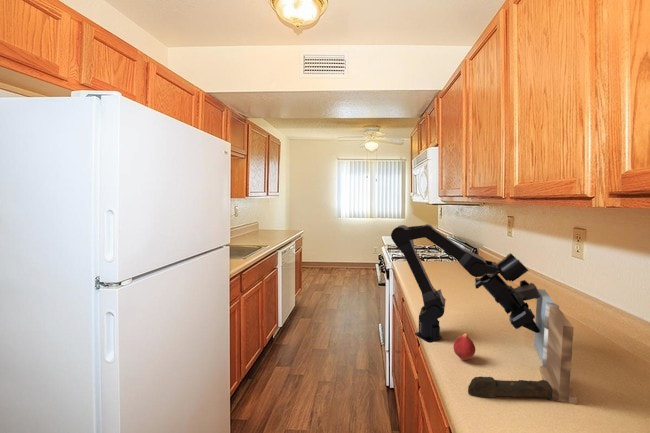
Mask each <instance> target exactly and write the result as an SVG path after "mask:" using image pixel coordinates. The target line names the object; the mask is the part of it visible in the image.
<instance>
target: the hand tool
mask: <svg viewBox="0 0 650 433" xmlns="http://www.w3.org/2000/svg"><path fill="white" fill-rule="evenodd" d="M467 393H468V395H471V396H474V397H479V398H486V399H494V398H495V397H510V398H511V397H512V398H513V397H520V398H521V397H522V398H523V397H525V398H545V399H547V400H548V401H551V400H552V394H553V391H552V387H551V385H550V384H549V383H548V381H546V380H543V379H541V380H526V379H525V380H524V379H519V380H502V379H495V378H494V377H492V376H474V377H473V378H472V379H471V380H470V382H469V384H468V387H467Z"/></svg>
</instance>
